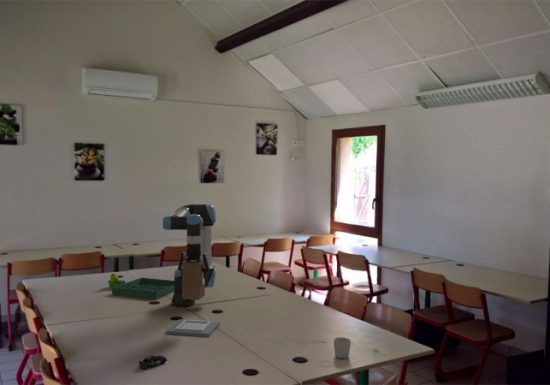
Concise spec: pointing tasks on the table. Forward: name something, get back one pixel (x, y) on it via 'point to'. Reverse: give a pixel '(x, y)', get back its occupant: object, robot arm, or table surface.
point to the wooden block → (192, 280)
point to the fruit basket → (115, 281)
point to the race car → (152, 361)
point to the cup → (342, 347)
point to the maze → (145, 288)
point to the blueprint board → (193, 328)
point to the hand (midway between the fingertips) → (193, 283)
